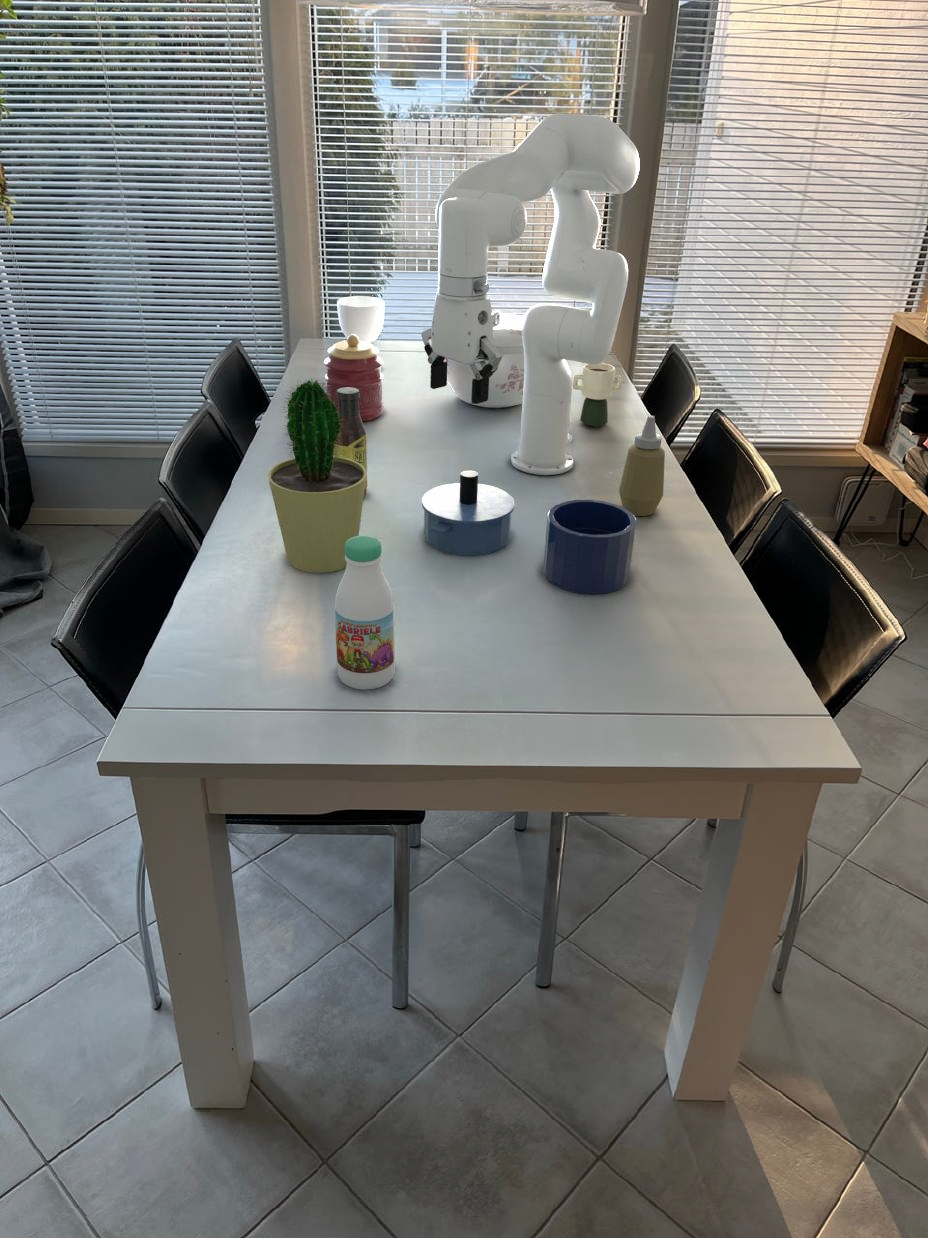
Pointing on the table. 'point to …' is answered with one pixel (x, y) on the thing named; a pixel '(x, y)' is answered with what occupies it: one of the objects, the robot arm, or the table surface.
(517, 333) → the chamber pot
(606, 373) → the trophy
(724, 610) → the table surface
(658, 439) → the squeeze bottle
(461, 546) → the pan
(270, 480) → the potted cactus
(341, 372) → the kitchen canister
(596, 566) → the pot
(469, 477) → the lid
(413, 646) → the table surface
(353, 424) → the sauce bottle
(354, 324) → the cup
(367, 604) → the milk bottle
